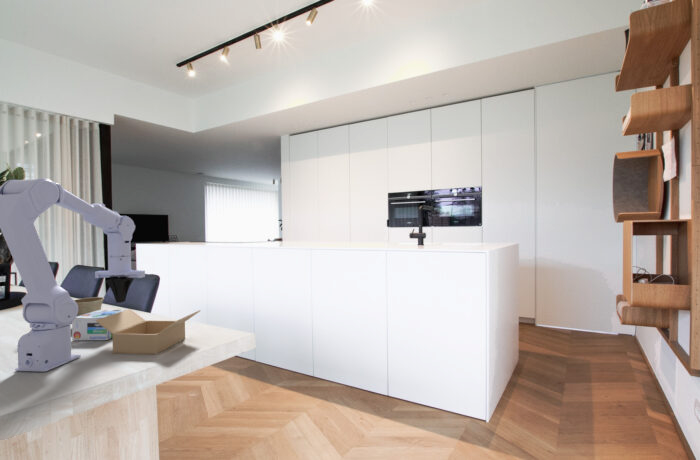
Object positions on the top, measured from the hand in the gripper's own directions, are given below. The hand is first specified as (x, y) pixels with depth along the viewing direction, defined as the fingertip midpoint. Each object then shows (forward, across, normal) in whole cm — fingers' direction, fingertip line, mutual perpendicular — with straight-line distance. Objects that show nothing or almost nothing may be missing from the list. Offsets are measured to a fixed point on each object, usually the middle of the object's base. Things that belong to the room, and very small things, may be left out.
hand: (120, 302), depth 105 cm
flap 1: (+4, -6, +6) cm, 9 cm away
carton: (+10, -14, +6) cm, 19 cm away
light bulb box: (+7, +8, -7) cm, 12 cm away
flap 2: (+4, -23, +7) cm, 24 cm away
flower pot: (+11, +21, -11) cm, 26 cm away
